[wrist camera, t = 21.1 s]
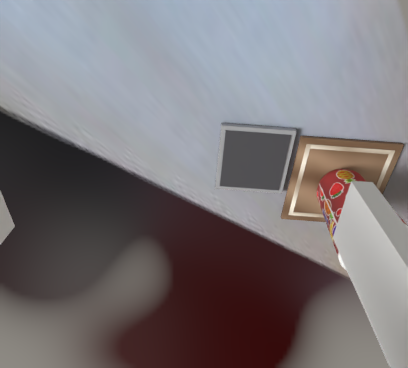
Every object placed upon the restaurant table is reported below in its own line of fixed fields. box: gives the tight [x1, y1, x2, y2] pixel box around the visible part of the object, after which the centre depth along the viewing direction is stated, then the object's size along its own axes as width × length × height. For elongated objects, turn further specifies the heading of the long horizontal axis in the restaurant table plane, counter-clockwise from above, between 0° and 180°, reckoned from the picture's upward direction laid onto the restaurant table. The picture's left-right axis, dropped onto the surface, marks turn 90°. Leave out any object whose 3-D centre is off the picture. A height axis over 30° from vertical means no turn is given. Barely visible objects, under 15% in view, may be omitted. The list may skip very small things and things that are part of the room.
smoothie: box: [317, 169, 408, 271], centre depth 38 cm, size 8×8×20 cm
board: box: [281, 136, 404, 222], centre depth 47 cm, size 14×14×1 cm
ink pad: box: [215, 123, 296, 194], centre depth 45 cm, size 10×10×1 cm
